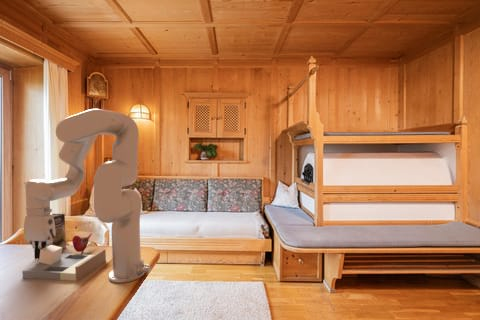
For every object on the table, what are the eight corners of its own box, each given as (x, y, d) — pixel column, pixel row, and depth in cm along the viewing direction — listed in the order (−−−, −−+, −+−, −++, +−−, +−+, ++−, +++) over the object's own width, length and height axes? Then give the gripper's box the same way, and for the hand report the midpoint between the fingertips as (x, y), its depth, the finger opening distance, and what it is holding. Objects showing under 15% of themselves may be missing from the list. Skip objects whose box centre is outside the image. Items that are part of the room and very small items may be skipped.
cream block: (60, 259, 109) (62, 247, 109) (50, 265, 104) (52, 252, 104) (49, 256, 110) (50, 244, 109) (38, 262, 105) (40, 249, 104)
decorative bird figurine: (70, 261, 113) (68, 237, 112) (89, 245, 130) (88, 225, 130) (77, 261, 113) (76, 237, 112) (95, 245, 131) (94, 224, 130)
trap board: (105, 261, 113) (105, 249, 113) (78, 280, 97) (77, 266, 97) (57, 259, 116) (56, 247, 115) (22, 277, 100) (21, 264, 99)
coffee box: (49, 255, 119) (47, 218, 118) (37, 254, 121) (35, 218, 120) (67, 247, 128) (65, 213, 127) (55, 246, 130) (53, 212, 129)
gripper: (63, 209, 109) (64, 254, 110) (29, 208, 111) (31, 252, 112) (48, 214, 102) (49, 263, 103) (12, 212, 103) (13, 260, 105)
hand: (40, 257), depth 107 cm, fingers closed
